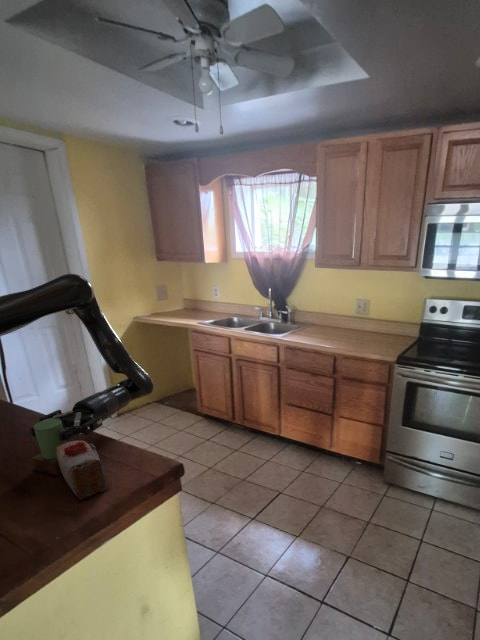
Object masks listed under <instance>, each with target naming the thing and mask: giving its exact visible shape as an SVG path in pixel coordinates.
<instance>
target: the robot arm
mask: <svg viewBox="0 0 480 640" xmlns="http://www.w3.org/2000/svg"><path fill="white" fill-rule="evenodd" d="M69 310H70V311H72V312H73V313H74V314H75V315H76V317H77V318H78V319H79V320H80V321H81V323H82V325H83V326H84V328H85V329H86V331H87V332H88V334H89V336H90V338H91V339H92V342H93V343H94V345H95V347H96V349H97V351H98V353H99V354H100V356H101V357H102V359H103V361H104V362H105V363H106V365H107V366H108V368H109V370H110V371H111V372H112V373H113V374H114V375H124V376H126V378H123V380H120V381H118V382H117V383H115V384H114V385H112V386H110V387H108V388H105V389H104V390H102V391H101V390H100V391H98V392H96V393H93V394H91V395H89V396H87V397H85V398H82V399H81V400H79V401H77V402H75V403H74V405H73V407H72V409H71V410H68V411H65V412H62V410H61V409H57V410H54V411H52V412H50V413H48V414H46V415H45V414H44V415H43V416H41V417H39V418H38V420H39V421H38V422H40V421H43V420H47V419H60V420H61V421H62V425H63V429H64V431H62V432H60V433H59V437H60V440H61V441H66V440H67V441H68V440H70V439H71V438H73V437H74V436H80V435H82V434H83V435H84V436H88V435H90V434H92V433H93V432H94V431H96V430H98V429H99V428H100V427H102V426H103V425H104V423H103V422H104V421H106V420H107V419H109V418H111V417H112V416H114V415H115V414H116V413H117V412H119V411H120V410H122V409H124V408H126V407H127V406H128V405H130V403H131V402H133V401H135V400H137V399H141V398H143V397H147V396H150V395H151V394H152V393H153V392H154V390H155V389H154V388H155V385H154V381H153V379H152V377H151V376H150V374H149V373H148V372H147V371H146V370H145V369H144V368H143V367H141V366H140V364H138V363H137V362H136V361H135V360H134V359H133V357H132V355H131V354H130V352H129V351H128V349H127V348H126V346H125V344H124V343H123V342H122V340H121V339H120V337H119V335H118V334H117V332H116V331H115V330H114V328H113V327H112V325H111V324H110V323H109V321H108V319H107V318H106V316H105V314H104V312H103V310H102V308H101V306H100V304H99V302H98V299H97V296H96V295H95V290H94V287H93V285H92V284H91V283H90V282H89V280H88V279H86V277H84V276H81V275H80V274H78V273H77V274H76V273H65V274H62V275H60V276H58V277H56V278H53V279H51V280H49V281H47V282H45V283H42V284H40V285H38V286H35V287H32V288H30V289H26V290H22V291H18V292H13V293H9V294H4V295H1V296H0V337H3V336H6V335H8V334H12V333H15V332H16V331H19V330H21V329H23V328H25V327H27V326H29V325H30V324H33V323H34V322H36V321H38V320H40V319H42V318H45V317H47V316H50V315H53V314H54V315H55V314H57V313H62V312H65V311H69ZM33 427H34V426H31V428H29V432H30V435H31V436H32V437H36V434H35V431H34V428H33Z"/></svg>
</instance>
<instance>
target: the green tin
mask: <svg viewBox="0 0 480 640" xmlns="http://www.w3.org/2000/svg"><path fill="white" fill-rule="evenodd" d="M32 427H33V428H34V431H35V434H36V436H35V437H36V440H37V443H38V447H39V449H40V453H42V456H43V458H45V459H55V458H57V451H56V447H58V446H61V445H63V444H65V443H67V442H68V440H66V441H61V440H60V437H59V433H60V432H62V431H64V430H65V428H63V425H62V421H61V420H60V419H47V420H43V421H38V422H36V423H35V424H33V426H32Z"/></svg>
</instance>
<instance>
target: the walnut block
mask: <svg viewBox="0 0 480 640" xmlns="http://www.w3.org/2000/svg"><path fill="white" fill-rule="evenodd" d="M31 459H32V462H33V465H34V468H35V471H39V472H42V473H47V474H50V475H54V476H60V475H61V474H62V472H61V469H60V466H59V463H58V459H57V458H55V459H45V458H43V456H42V453H41V452H40V453H39V454H37V455H34V456H32V458H31Z"/></svg>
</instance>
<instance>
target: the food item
mask: <svg viewBox="0 0 480 640" xmlns="http://www.w3.org/2000/svg"><path fill="white" fill-rule="evenodd" d="M96 448H97V447H96V446H95V445H94V444H93V443H89V442H87V440H72V441H67V443H65V444H63V445H61V446H58V447H56V451H57V459H58V463H59V466H60V469H61V472H62V473H61V474H62V476H63V479H64V480H65V482H66V483H67V485H68V486H69V488H70V489H71V491H72V493H74V495H75V496H76V497H77V498H78V499H79V500H82V499H86V498H89V497H91V496H93V495H96V494H98V493H102V492H104V491H105V490H107V487H108V482H107V479H106V478H107V477H106V474H105V471H104V466H103V463H102V460H101V458H100V456H99V454H98V452H97V450H96Z"/></svg>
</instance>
